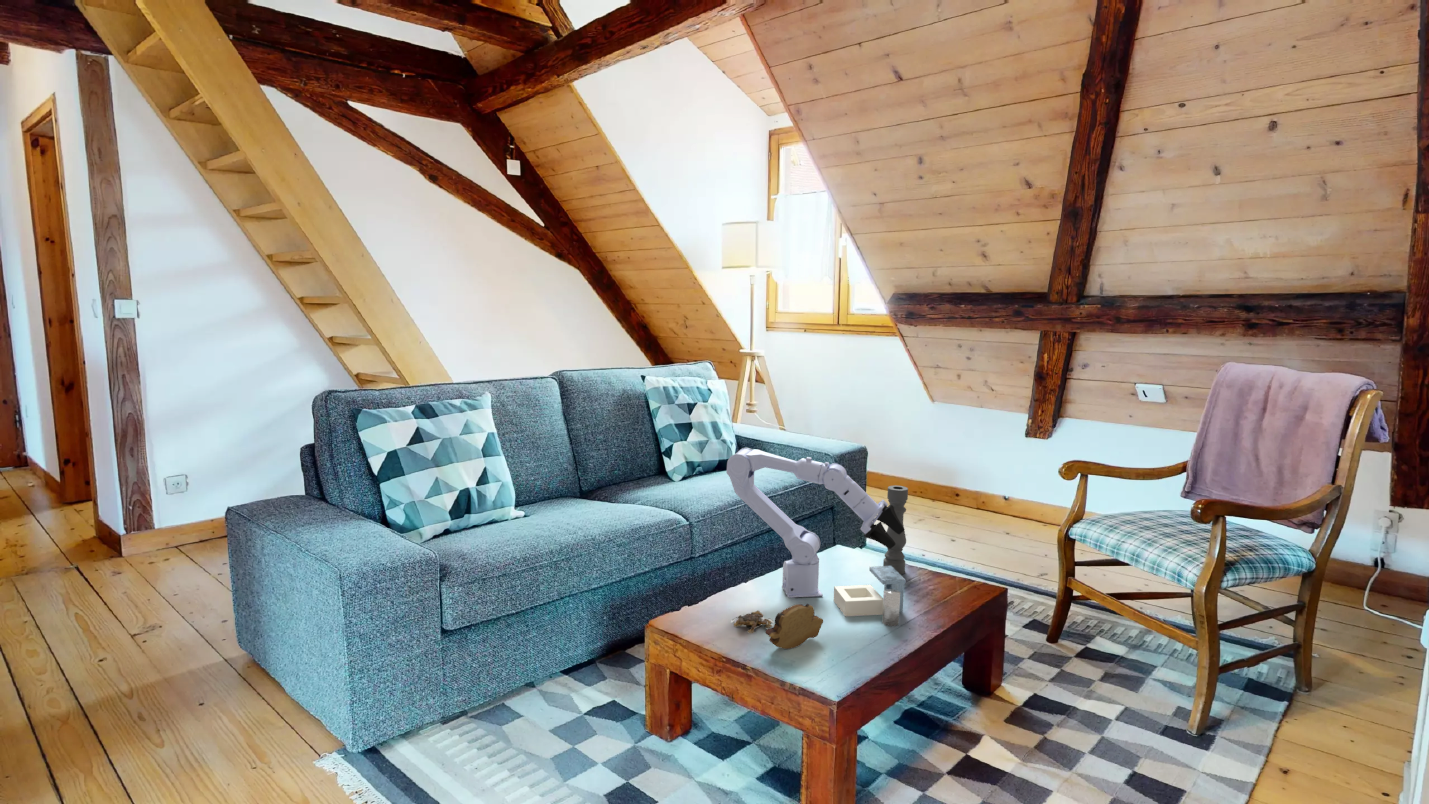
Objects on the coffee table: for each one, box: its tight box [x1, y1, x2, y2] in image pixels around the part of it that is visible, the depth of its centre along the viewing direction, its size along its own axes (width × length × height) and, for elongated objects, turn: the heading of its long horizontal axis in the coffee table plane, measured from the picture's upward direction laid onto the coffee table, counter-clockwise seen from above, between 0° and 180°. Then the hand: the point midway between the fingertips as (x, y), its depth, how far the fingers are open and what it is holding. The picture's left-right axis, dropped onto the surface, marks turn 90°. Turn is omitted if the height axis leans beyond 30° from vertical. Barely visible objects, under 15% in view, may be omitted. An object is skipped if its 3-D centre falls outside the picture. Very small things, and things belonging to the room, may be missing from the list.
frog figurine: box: [730, 610, 775, 634], centre depth 198 cm, size 12×12×4 cm
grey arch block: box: [869, 565, 907, 614], centre depth 209 cm, size 6×10×9 cm, turn 9°
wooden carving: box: [764, 603, 824, 650], centre depth 186 cm, size 16×5×10 cm, turn 131°
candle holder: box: [882, 485, 909, 576], centre depth 233 cm, size 6×6×25 cm
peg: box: [881, 589, 900, 627], centre depth 199 cm, size 4×4×8 cm
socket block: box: [833, 584, 883, 617], centre depth 209 cm, size 10×10×4 cm
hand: (897, 539), depth 209 cm, fingers open, 7 cm apart
